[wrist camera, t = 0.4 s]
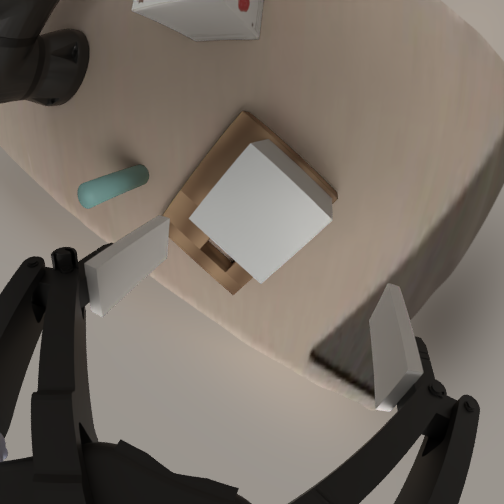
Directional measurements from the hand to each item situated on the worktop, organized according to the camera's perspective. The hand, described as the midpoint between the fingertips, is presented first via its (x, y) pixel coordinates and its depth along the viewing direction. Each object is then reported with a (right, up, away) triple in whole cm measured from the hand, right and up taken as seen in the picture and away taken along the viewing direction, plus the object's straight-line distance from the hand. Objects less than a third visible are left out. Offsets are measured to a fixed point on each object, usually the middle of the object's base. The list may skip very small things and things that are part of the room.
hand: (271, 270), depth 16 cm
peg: (-18, +13, +25) cm, 33 cm away
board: (-2, +7, +23) cm, 24 cm away
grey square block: (+1, +7, +18) cm, 20 cm away
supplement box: (-4, +32, +12) cm, 34 cm away
